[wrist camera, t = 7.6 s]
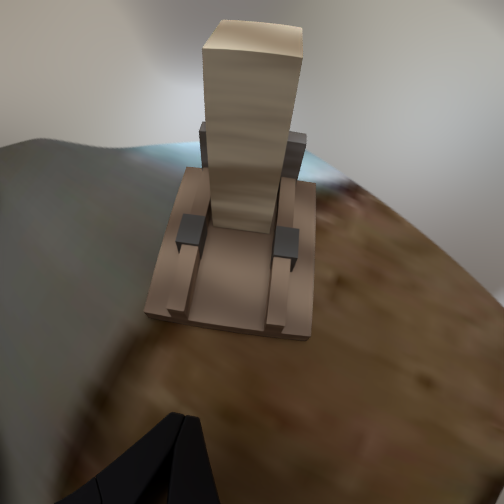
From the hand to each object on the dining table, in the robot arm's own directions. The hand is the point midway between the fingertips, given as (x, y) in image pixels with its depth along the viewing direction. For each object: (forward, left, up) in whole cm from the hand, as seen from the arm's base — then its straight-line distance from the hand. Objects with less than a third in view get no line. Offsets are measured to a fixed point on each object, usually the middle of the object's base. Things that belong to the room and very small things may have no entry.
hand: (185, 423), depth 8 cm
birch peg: (+13, +9, -12) cm, 20 cm away
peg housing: (+11, +8, -13) cm, 19 cm away
